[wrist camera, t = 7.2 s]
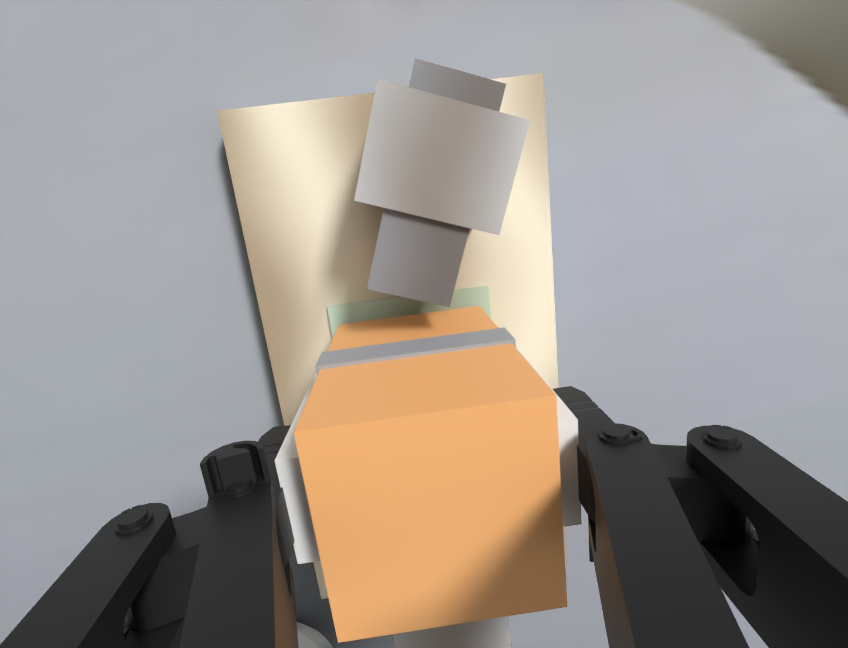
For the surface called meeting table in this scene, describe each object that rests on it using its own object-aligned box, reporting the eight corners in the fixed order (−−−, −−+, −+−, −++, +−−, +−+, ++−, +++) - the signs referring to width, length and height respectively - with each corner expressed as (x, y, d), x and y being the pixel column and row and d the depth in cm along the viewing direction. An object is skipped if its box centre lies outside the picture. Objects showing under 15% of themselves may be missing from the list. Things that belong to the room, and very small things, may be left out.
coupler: (335, 322, 16) (286, 428, 9) (482, 302, 17) (561, 389, 9) (358, 454, 18) (333, 647, 10) (494, 434, 18) (571, 609, 10)
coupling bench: (326, 573, 22) (302, 701, 16) (232, 118, 17) (150, 77, 11) (555, 540, 22) (610, 655, 17) (531, 83, 17) (597, 26, 12)
